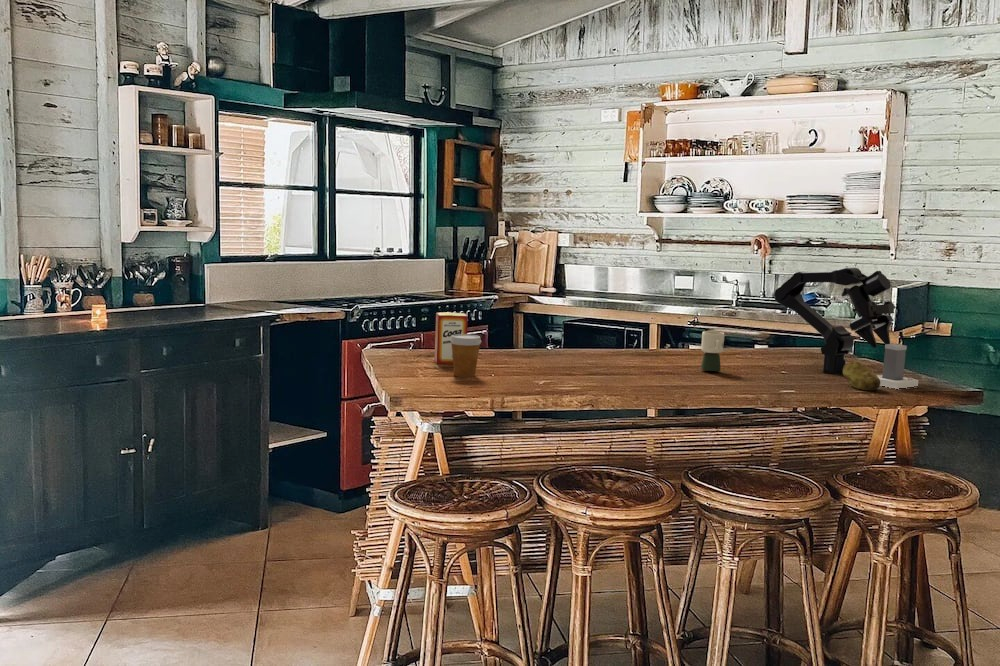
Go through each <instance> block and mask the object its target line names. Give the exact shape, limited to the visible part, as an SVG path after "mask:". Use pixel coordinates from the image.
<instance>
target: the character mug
mask: <svg viewBox="0 0 1000 666" xmlns="http://www.w3.org/2000/svg"><path fill="white" fill-rule="evenodd" d="M724 342H725V332H723V331H713V330H704V331H702V333H701V347H700V348H701V351H702V352H704V354H703V357H702V361H701V367H700V369H701V371H709V372H711V373H714V372H721V371H722V370H721V357H720V353H723V352H724V344H725V343H724Z"/></svg>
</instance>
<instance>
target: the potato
mask: <svg viewBox="0 0 1000 666" xmlns="http://www.w3.org/2000/svg"><path fill="white" fill-rule="evenodd" d="M842 375H843V377H844V378H845V380H846V381H847V382H848V383H849V384H850V385H851V386H852V387H853V388H855V389H857V390H861V391H862V390H863V391H872V392H873V391H874V390H877V389H879V387H881V386H880V379H879V378H878V376H877V375H878V374H876V373H875V372H874V371H873V370H872V369H871V368H869V366H867V365H866V364H865V363H864V362H862V361H858V360H851V361H848V362H846V364H845V365H844V367H843V374H842Z"/></svg>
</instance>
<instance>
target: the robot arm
mask: <svg viewBox="0 0 1000 666" xmlns="http://www.w3.org/2000/svg"><path fill="white" fill-rule="evenodd" d="M807 283H832V284H835V285H841V286H851V287H845V288H843V292H842V293H841V297H849V299H850V301H851V303H852V306H853V309H852V311H853V313H856V315H857V317H858V318H856V319H854V320H853V321H852V320H851V321H850V323H849V329H850V331H851V332H850V331H848V330H847V329H846V327H844V326H843V325H838V326H834V325H833V324H831V323H830V322H829V321H827V319H825V317H824V316H822V315H821V314H819V312H817V311H816V310H815V309H813V307H812V306H810V305H809V304H808V303H807V302H806V301H805V300H804V297H803V295H802V292H803V291H804V288H805V286H806V284H807ZM859 284H861V285H859ZM889 289H891V281H890V280H889V279H888V278H887V276H886V275H885V274H883V272H882V270H876V271H874V272H873V273H872V274H870V275H866V274H864V273H862V271H861V270H860V269H859V268H858V267H843V268H838V269H835V270H832V271H795V272H794V273H793V274H792V275H791V277H790V278H788V279H787V280H786V281H784V282H783V283H782V284H781V286H780V287H777V288H776V289H775V291H774V300H775V302H776V303H778V304H779V305H781V306H783V307H784V308H787V309H789V310H792V311H793V312H795V313H796V314H797V315H799V316H800V317H801V318H802V319H803V320H804V321H806V322H807V324H808V325H810V326H811V327H812V328H814V330H816V331H817V332H818V334H820V335H821V336H822V337H823V340H824V343H825V344H824V345H822V347H820V351H821V355H824V358H823V359H824V360H823V367H822V368H823V369H822V371H821V372H822V373H827V374H835V375H844V374H843V367H844V365H845V364H846V363H847V359H846V357H845V356H846V355H848V354H849V352H850V350H851V349H852V348H853V347H854V344H855V341H854V340H855V338H854V337H853V335H852V333H853V332H854V334H856V335H858V336H859V337H860V338H861V339H863V340H864V341H865V342H866V343H868V345H870V346H871V347H872V348H875V349H876V348H877V347H878V344H877V341H876V337H875V335H876V336H877V337H878V338H879V339H880V340H881V341H882V342H883V344H884V345H885V344H891V336H890V327H891V325H893V322H894V319H893V316H892V315H893V314H895V309H896V306H895V304H894V303H893V302H892V300H889V301H884V303H883V304H877V302H876V301H872V298H871V297H874V298H875V297H876V296H878V295H880V294H882V293H884V292H886V291H887V290H889ZM870 296H871V297H870ZM890 314H892V315H890ZM874 333H875V335H874Z"/></svg>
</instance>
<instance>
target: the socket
mask: <svg viewBox="0 0 1000 666" xmlns="http://www.w3.org/2000/svg"><path fill="white" fill-rule="evenodd" d="M876 375H877V376H878V378H879V379H880V386H879V387H882V386H885V387H884V388H887V387H889V388H888V389H891V388H895V389H894V390H896V389H898V390H900V389H899V388H906V389H908V388H907V387H914V386H918V387H919V379H915V378H913V377H905V376H903V380H896V381H895V380H890V379H885V378H882V375H883V374H876ZM914 388H915V387H914Z"/></svg>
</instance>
